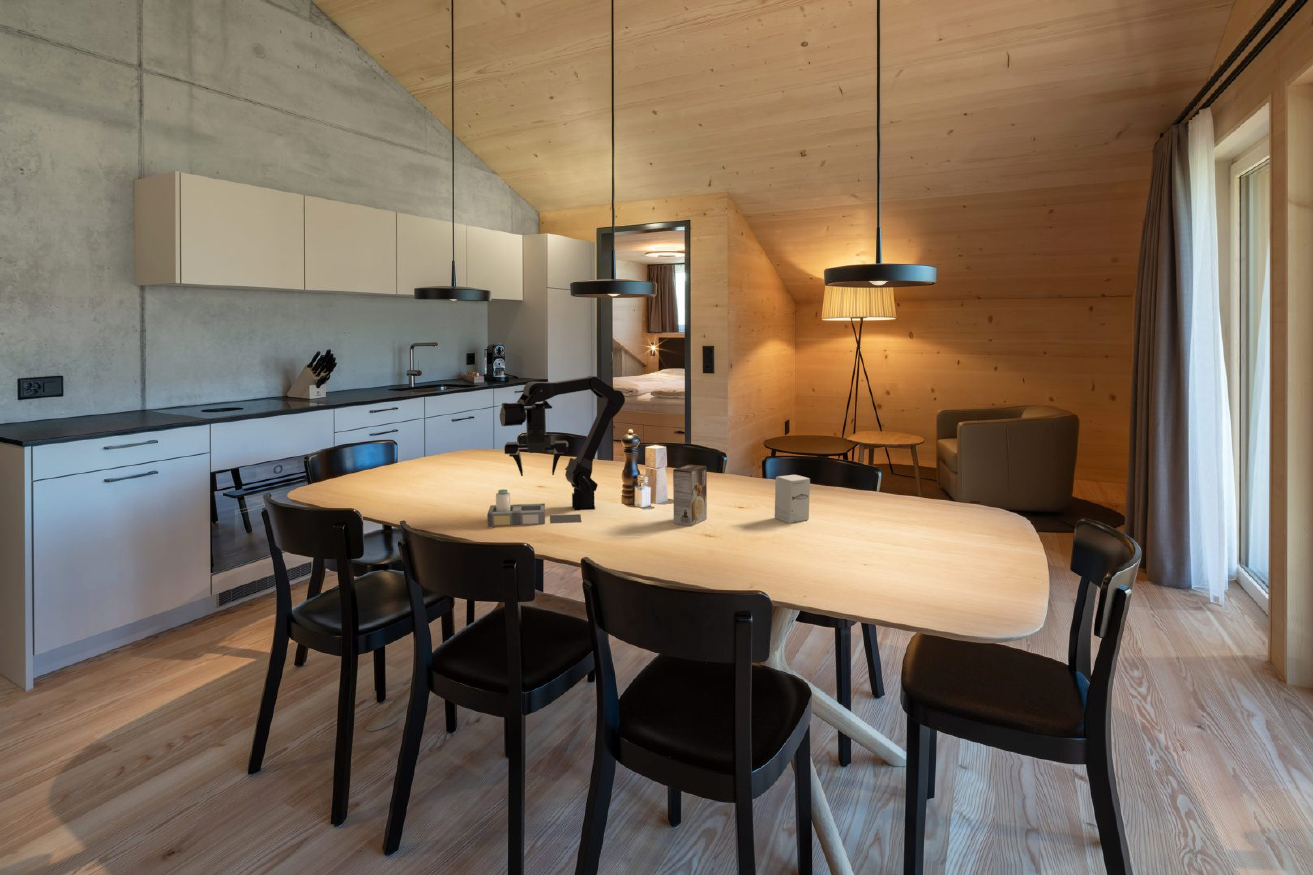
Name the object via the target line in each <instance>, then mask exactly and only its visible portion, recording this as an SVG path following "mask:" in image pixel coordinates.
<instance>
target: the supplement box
mask: <svg viewBox="0 0 1313 875" xmlns="http://www.w3.org/2000/svg"><path fill="white" fill-rule="evenodd" d="M810 487H811V478H809V477H806V476H802V475H798V474H789V475H779V476H776V477H775V487H774V488H775V489H774V492H775V493H774V518H775V519H777V520H780V521H782V522H785V523H788V524H792V523H798V522H803V521H809V519H810V493H811V492H810V491H811V489H810Z"/></svg>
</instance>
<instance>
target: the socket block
mask: <svg viewBox="0 0 1313 875" xmlns="http://www.w3.org/2000/svg"><path fill="white" fill-rule="evenodd" d="M487 511H488V512H487V515H486V516H487V528H488V529H489V528H492V529H493V528H496V527H506V526H508V527H509V526H510V527H511V526H531V525H545V524H546V503H525V504H524V503H523V504H520V503H519V504H510V511H502V512H496V504H494V505H493V504H492V505H490V506H489V509H488V510H487Z"/></svg>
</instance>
